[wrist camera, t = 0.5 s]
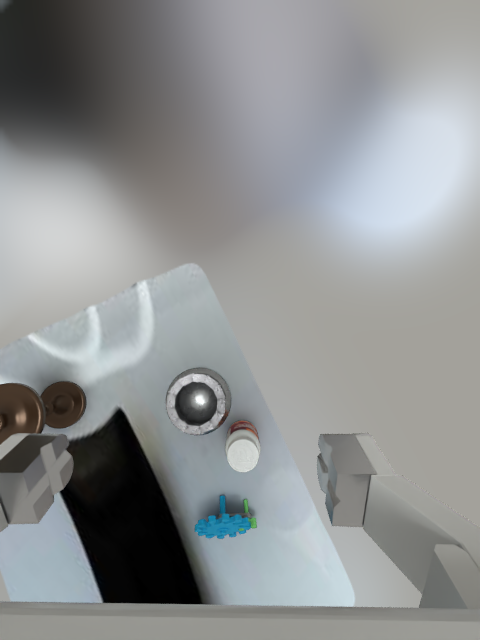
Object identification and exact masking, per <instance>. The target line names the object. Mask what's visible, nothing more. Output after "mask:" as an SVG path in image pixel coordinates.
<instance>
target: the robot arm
mask: <svg viewBox="0 0 480 640" xmlns="http://www.w3.org/2000/svg"><path fill="white" fill-rule="evenodd" d="M68 445H69V443H68V439H67V436H65V435H63V434H39V433H33V434H29V433H17V434H14V435H11V436H10V437H9V438H8V439H7V440H5V441H4V442H3V443H2V444H1V445H0V532H1V531H3V530H4V529H5V528H6V527H8V524H38V523H39V522H40V520H41V519H42V518H43V516H44V515H45V514H46V512H47V511H48V509H49V508H50V507H51V505H52V504H53V502H54V495H55V494H56V493H58V492H59V491H61V490H62V489H64V487H65V486H66V484H67V483H68V481H69V479H70V477H71V474H72V471H73V459H72V456H71V455H70V454H69V453H68V452H67V451H66V449H67V447H68ZM318 445H319V448H320V451H321V453H320V454H319V455H318V456H317V472H318V479H319V483H320V487H321V490H322V491H323V492H324V493H325V494H326V502H325V504H326V508H327V511H328V514H329V518H330V521H331V524H332V526H347V527H363V529H364V530H365V531H366V533H367V534H368V535H369V536H370V537H371V538H372V539H373V540H374V542H375V543H376V544H377V545H378V546H379V547H380V548H381V549H382V550H383V552H385V554H386V555H387V556H388V557H389V558H390V559H391V560H392V561H393V563H394V564H395V565H396V566H397V567H398V568H399V569H400V570H401V571H402V573H403V574H404V575H405V576H406V577H407V578H408V579H409V580H410V581H411V582H412V584H413V585H414V586H415V587H416V588H417V589H418V590H419V591H420V592H421V594H422V598H421V601H420V605H419V608H390V607H387V608H386V607H384V608H383V607H325V606H259V605H193V604H125V603H63V602H1V601H0V640H480V527H479V526H477V525H475V524H474V523H473V522H471V521H470V520H468V519H467V518H465V517H464V516H462V515H461V514H459V513H458V512H456V511H455V510H453V509H452V508H450V507H449V506H447V505H446V504H444V503H443V502H441V501H440V500H438V499H437V498H435V497H434V496H432V495H431V494H429V493H428V492H426V491H425V490H423V489H422V488H420V487H419V486H417V485H416V484H414V483H413V482H412V481H410V480H409V479H407V478H405V477H404V476H403V475H396V473H395V472H394V470H393V469H392V467H391V465H390V464H389V462H388V460H387V459H386V457H385V456H384V454H383V453H382V451H381V449H380V448H379V446H378V445H377V443H376V442H375V440H374V438H373V437H372V435H370V434H369V433H355V434H354V433H353V434H320V436H319V444H318Z"/></svg>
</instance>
